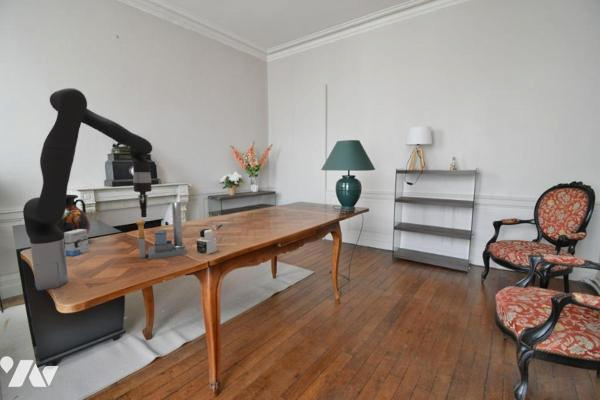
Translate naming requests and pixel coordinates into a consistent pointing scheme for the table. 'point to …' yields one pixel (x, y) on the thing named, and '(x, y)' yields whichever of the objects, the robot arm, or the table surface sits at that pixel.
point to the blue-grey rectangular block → (160, 237)
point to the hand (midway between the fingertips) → (144, 216)
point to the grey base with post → (168, 248)
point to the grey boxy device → (206, 242)
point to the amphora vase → (73, 216)
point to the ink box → (76, 242)
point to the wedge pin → (141, 228)
